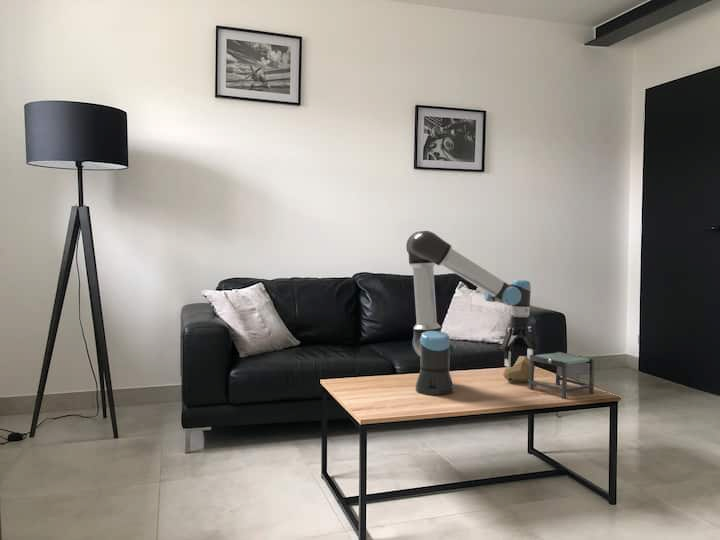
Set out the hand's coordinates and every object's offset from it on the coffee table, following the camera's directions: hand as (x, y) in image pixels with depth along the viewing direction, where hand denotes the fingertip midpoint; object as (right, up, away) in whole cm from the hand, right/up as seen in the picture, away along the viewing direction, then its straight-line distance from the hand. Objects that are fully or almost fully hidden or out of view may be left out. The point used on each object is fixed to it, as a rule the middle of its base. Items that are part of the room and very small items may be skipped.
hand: (518, 365), depth 256 cm
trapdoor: (+13, 0, -16) cm, 20 cm away
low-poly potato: (+2, -7, +1) cm, 7 cm away
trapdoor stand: (+13, -8, -15) cm, 22 cm away
